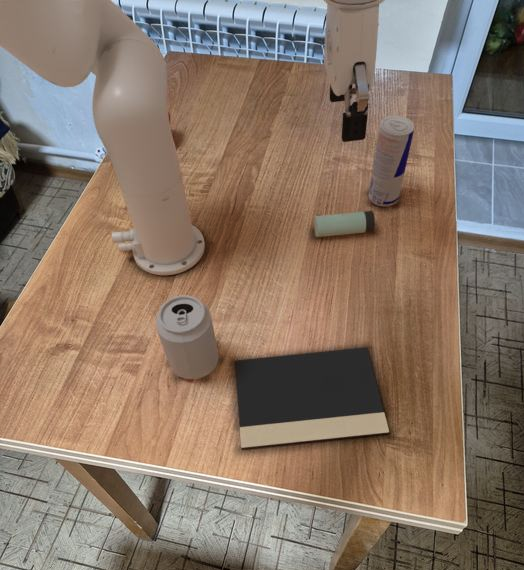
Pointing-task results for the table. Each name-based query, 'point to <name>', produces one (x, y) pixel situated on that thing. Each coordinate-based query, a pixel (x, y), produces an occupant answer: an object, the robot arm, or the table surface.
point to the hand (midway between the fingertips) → (346, 119)
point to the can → (187, 336)
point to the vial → (344, 223)
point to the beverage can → (390, 160)
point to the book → (308, 398)
